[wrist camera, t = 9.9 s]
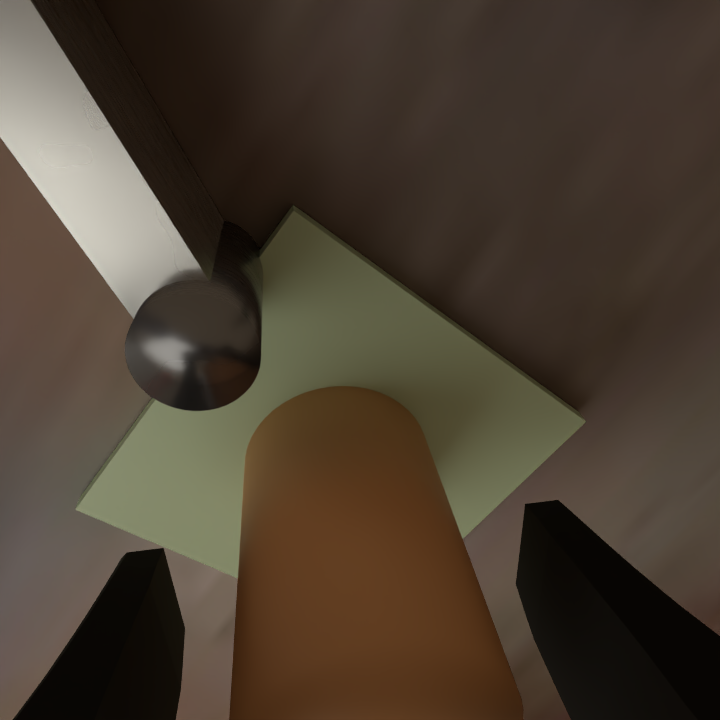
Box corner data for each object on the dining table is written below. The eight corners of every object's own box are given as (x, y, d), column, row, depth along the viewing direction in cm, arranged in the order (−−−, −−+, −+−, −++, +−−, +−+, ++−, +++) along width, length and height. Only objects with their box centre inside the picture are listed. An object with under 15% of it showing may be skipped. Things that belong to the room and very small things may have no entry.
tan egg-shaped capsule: (232, 396, 12) (203, 671, 7) (428, 376, 13) (536, 623, 8) (257, 543, 14) (248, 841, 9) (426, 521, 15) (512, 797, 9)
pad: (80, 496, 14) (75, 509, 13) (293, 204, 11) (293, 210, 11) (362, 619, 17) (364, 632, 16) (578, 411, 14) (586, 421, 14)
